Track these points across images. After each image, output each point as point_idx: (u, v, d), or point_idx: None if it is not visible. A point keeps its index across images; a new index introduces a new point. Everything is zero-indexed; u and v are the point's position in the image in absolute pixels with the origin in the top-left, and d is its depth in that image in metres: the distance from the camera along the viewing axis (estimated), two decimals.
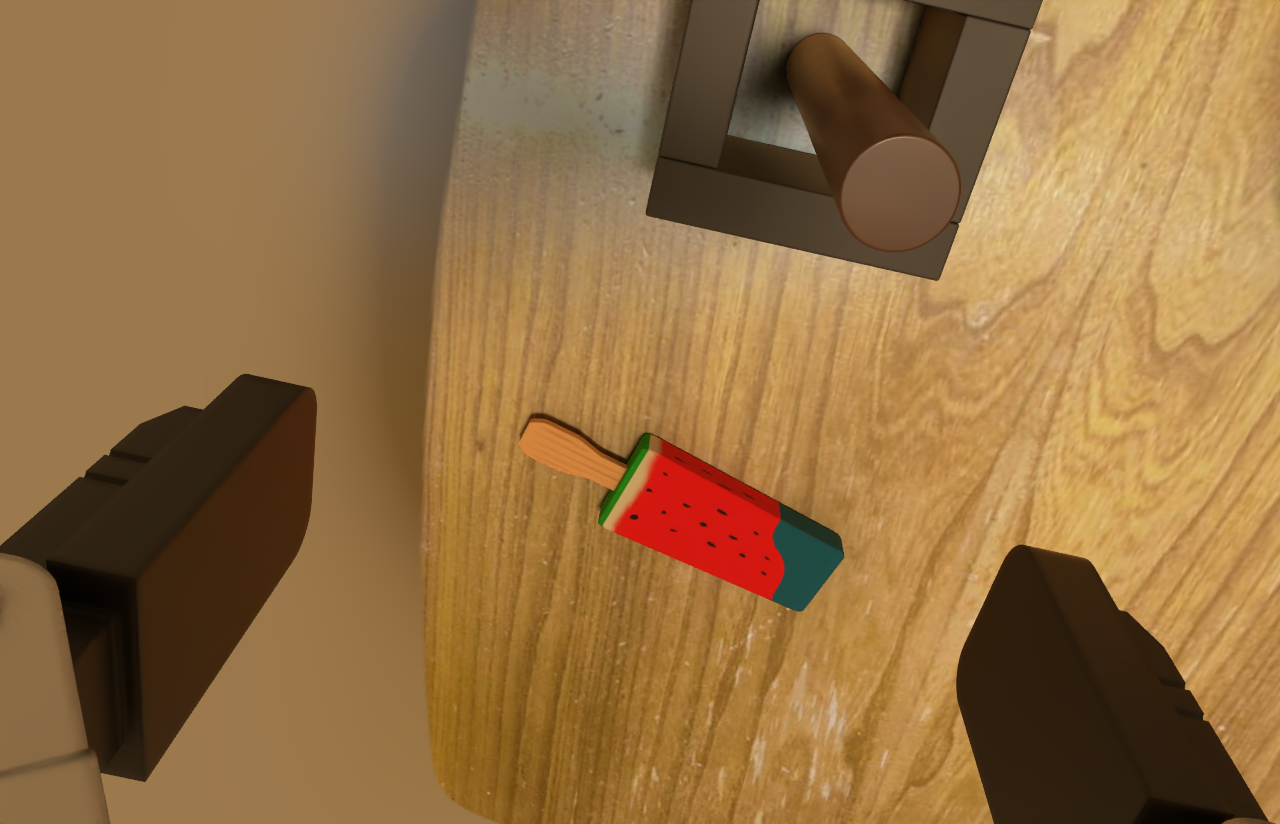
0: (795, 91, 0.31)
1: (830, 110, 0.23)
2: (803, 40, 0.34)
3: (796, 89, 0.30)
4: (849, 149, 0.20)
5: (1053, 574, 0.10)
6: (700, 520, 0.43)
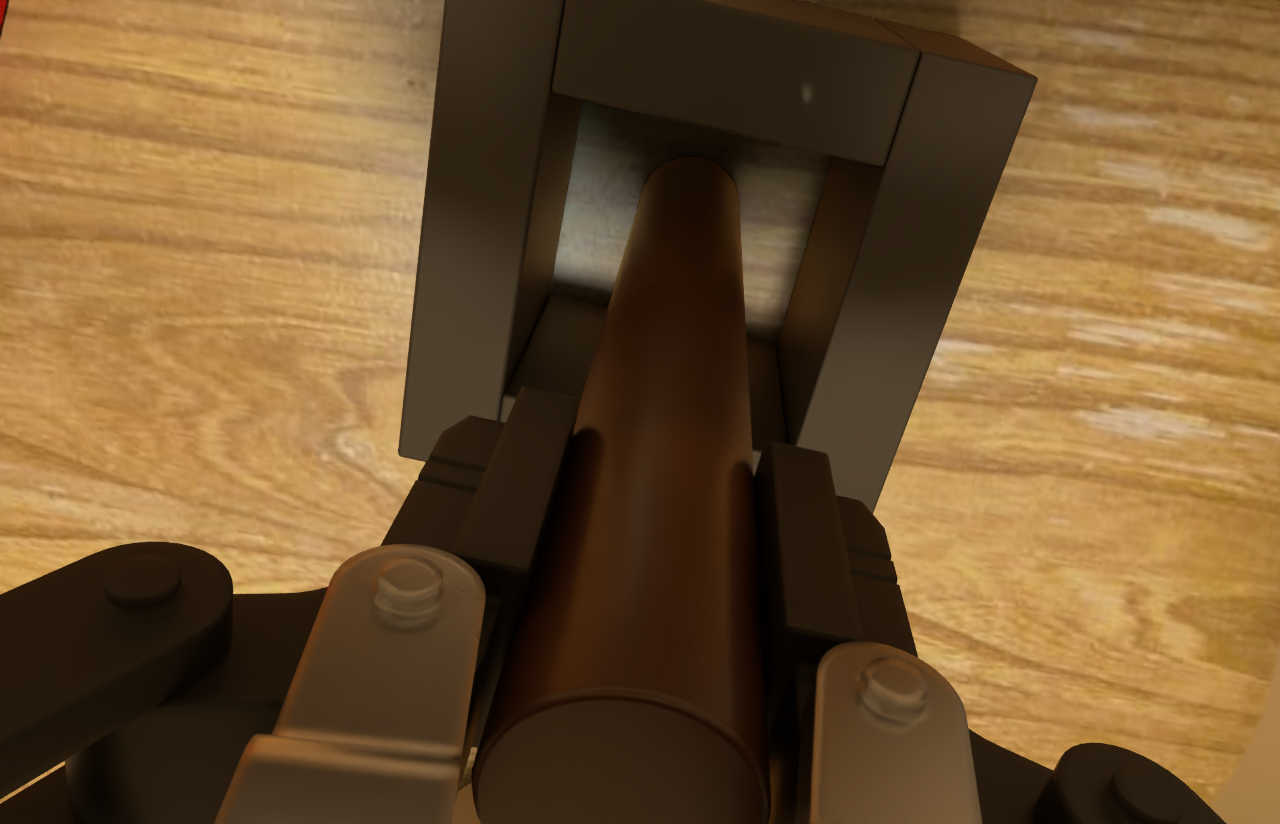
0: (680, 212, 0.19)
1: (720, 416, 0.12)
2: (731, 181, 0.23)
3: (686, 218, 0.18)
4: (713, 647, 0.08)
5: (784, 461, 0.11)
6: None
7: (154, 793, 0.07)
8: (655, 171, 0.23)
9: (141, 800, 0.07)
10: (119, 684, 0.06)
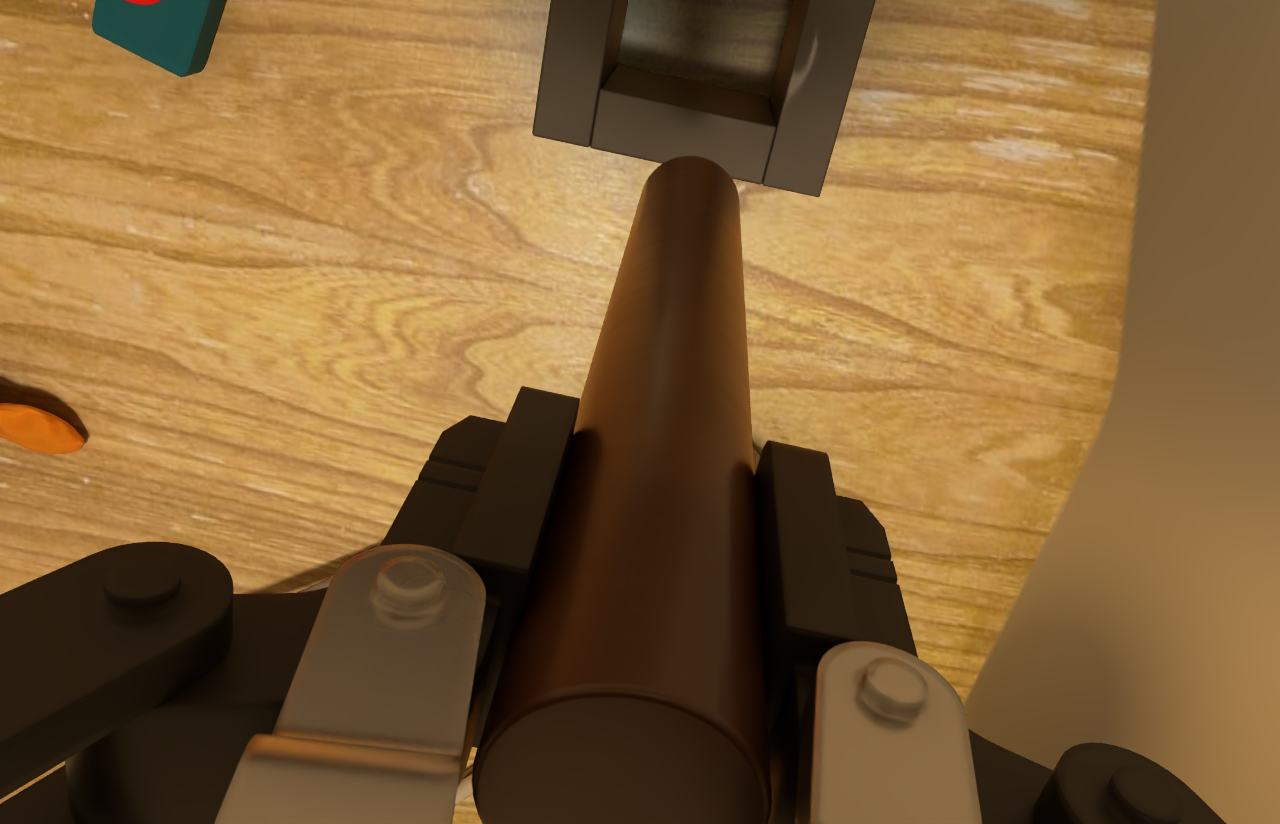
0: (680, 211, 0.19)
1: (720, 414, 0.12)
2: (731, 180, 0.23)
3: (686, 217, 0.18)
4: (713, 645, 0.08)
5: (784, 461, 0.11)
6: None
7: (154, 793, 0.07)
8: (655, 170, 0.23)
9: (141, 800, 0.07)
10: (120, 683, 0.06)
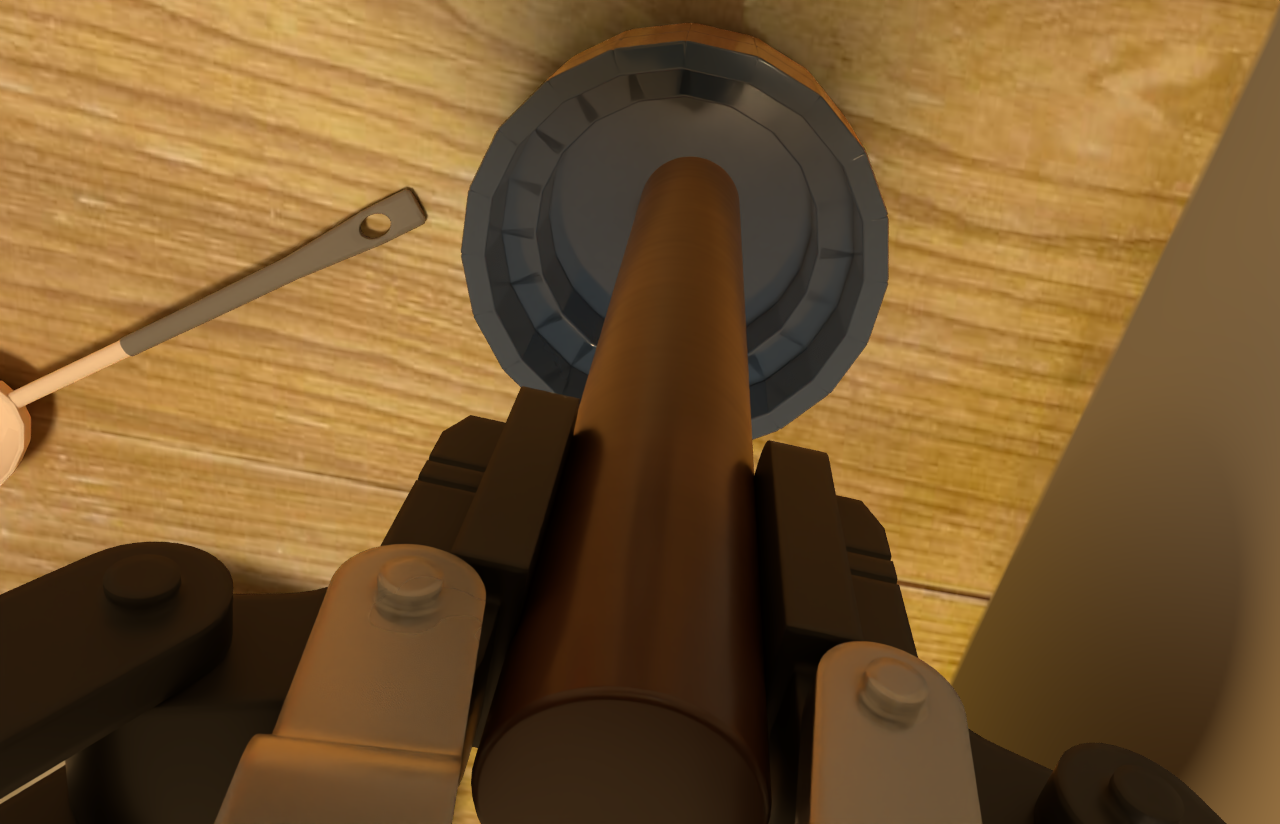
0: (680, 212, 0.19)
1: (720, 415, 0.12)
2: (731, 181, 0.23)
3: (686, 217, 0.18)
4: (713, 647, 0.08)
5: (784, 461, 0.11)
6: None
7: (154, 793, 0.07)
8: (655, 171, 0.23)
9: (141, 800, 0.07)
10: (120, 684, 0.06)
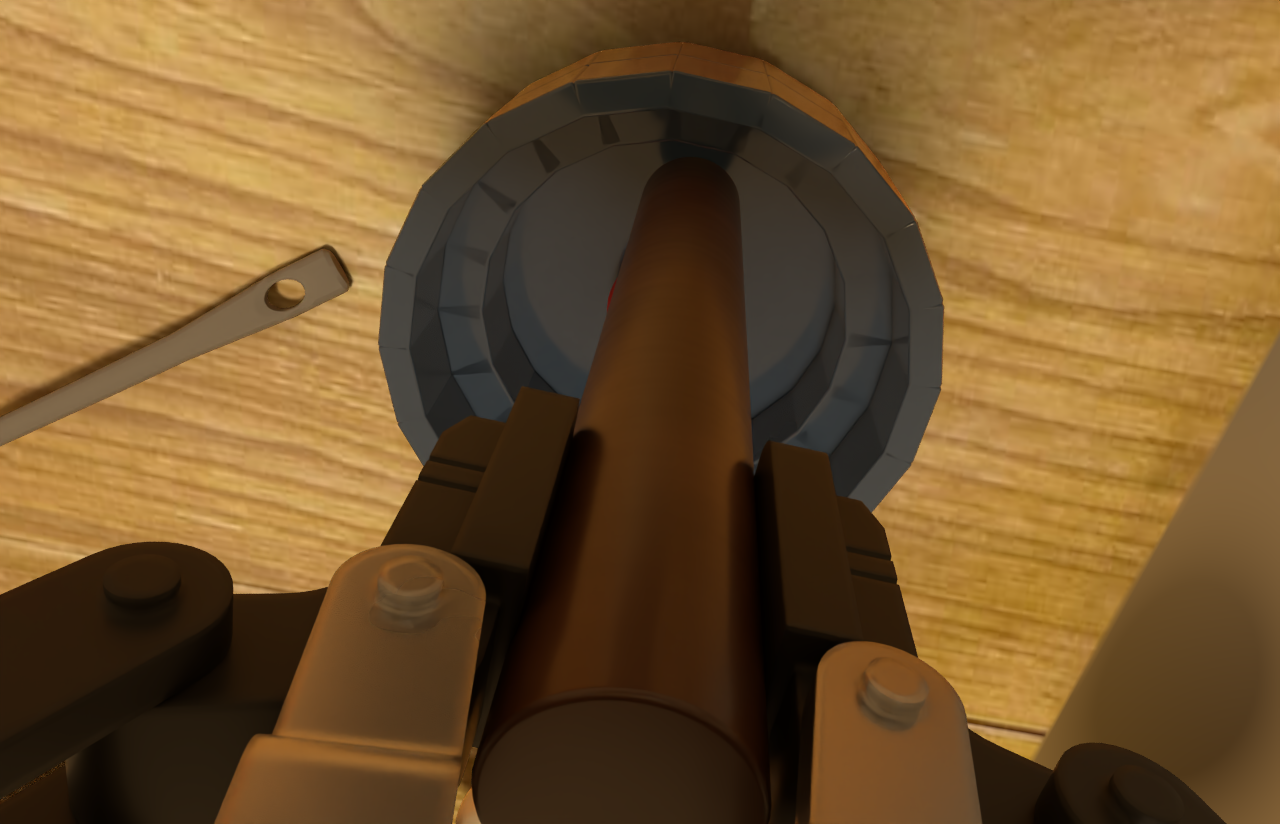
0: (681, 212, 0.19)
1: (720, 416, 0.12)
2: (732, 181, 0.23)
3: (686, 218, 0.18)
4: (713, 648, 0.08)
5: (784, 461, 0.11)
6: None
7: (154, 793, 0.07)
8: (656, 171, 0.23)
9: (141, 800, 0.07)
10: (120, 684, 0.06)
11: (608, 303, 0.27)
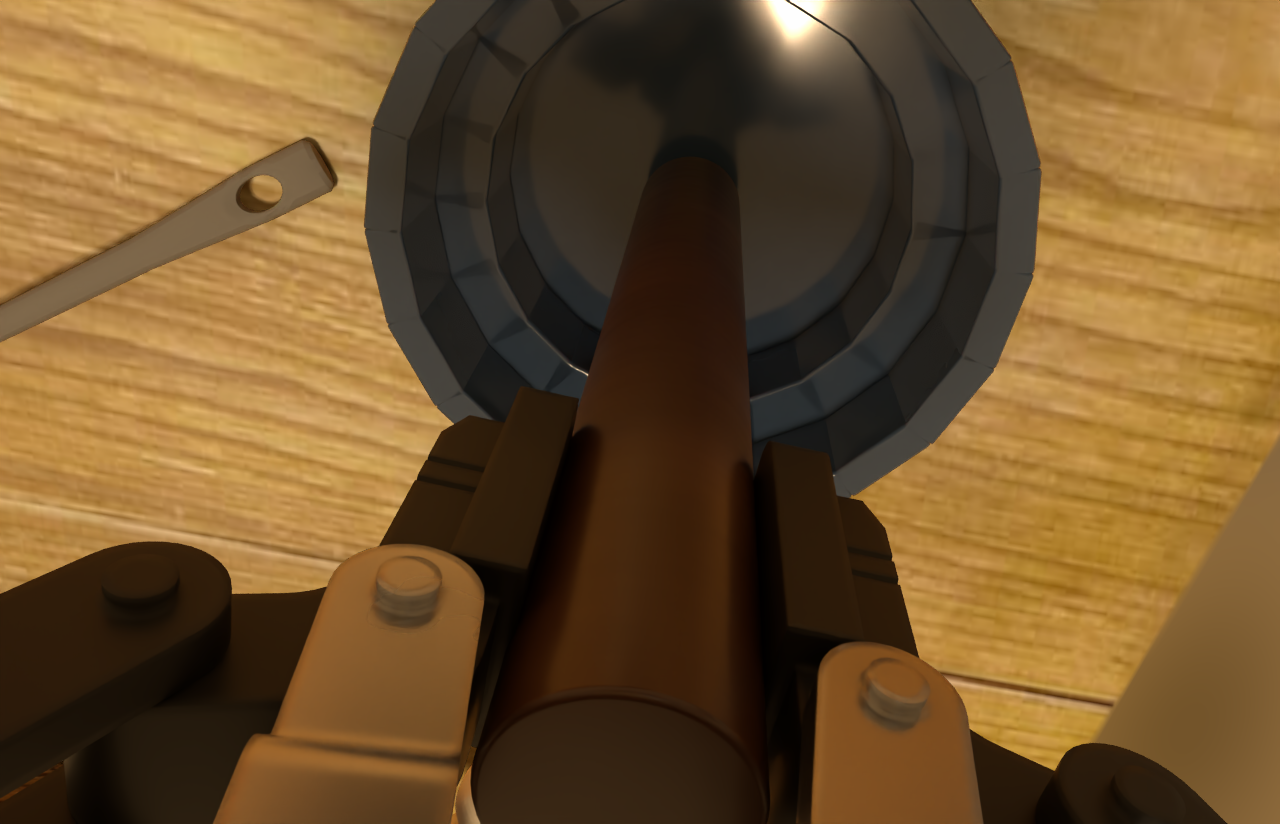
0: (680, 212, 0.19)
1: (719, 415, 0.12)
2: (731, 181, 0.23)
3: (686, 218, 0.18)
4: (712, 647, 0.08)
5: (784, 461, 0.11)
6: None
7: (153, 793, 0.07)
8: (655, 171, 0.23)
9: (140, 800, 0.07)
10: (118, 683, 0.06)
11: None
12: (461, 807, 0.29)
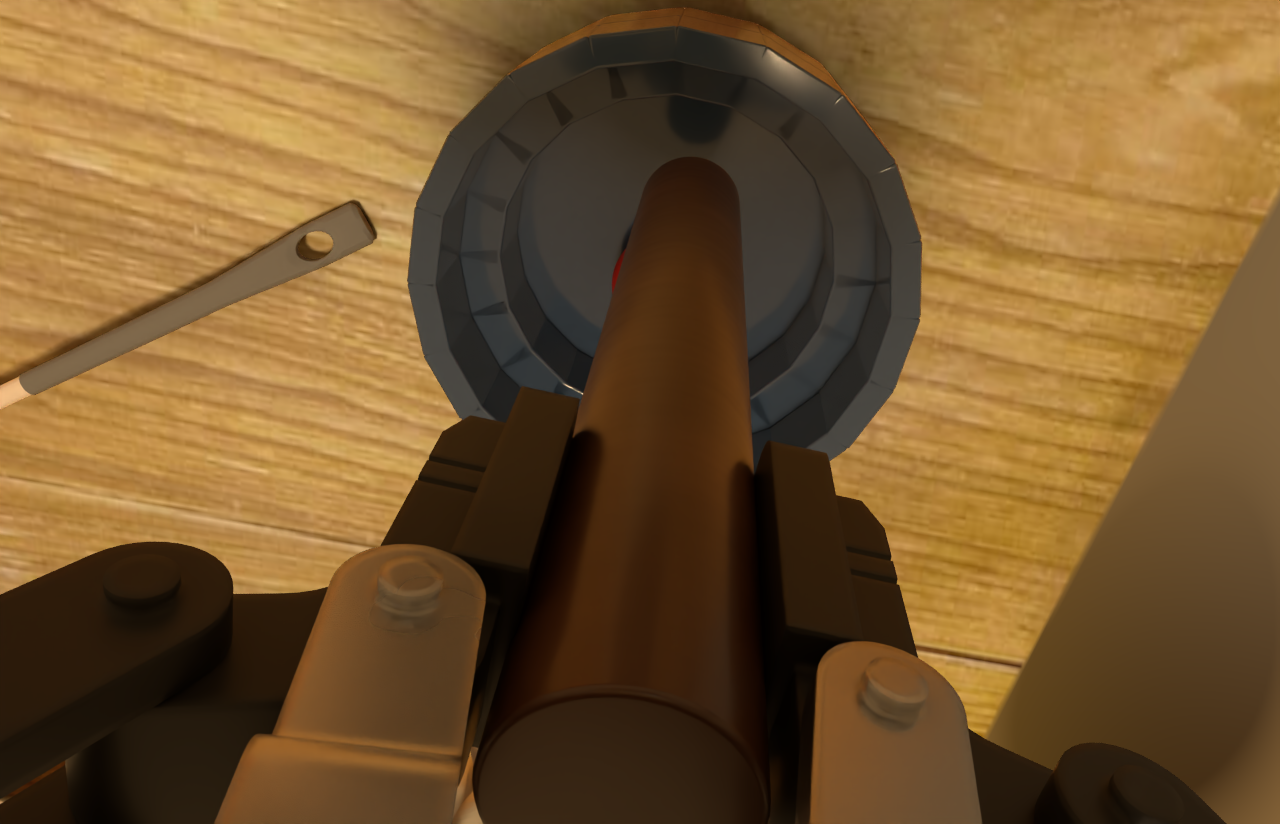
0: (681, 212, 0.19)
1: (720, 415, 0.12)
2: (731, 181, 0.23)
3: (686, 218, 0.18)
4: (713, 646, 0.08)
5: (785, 461, 0.11)
6: None
7: (154, 793, 0.07)
8: (656, 171, 0.23)
9: (141, 800, 0.07)
10: (120, 685, 0.06)
11: (612, 283, 0.29)
12: (475, 748, 0.35)
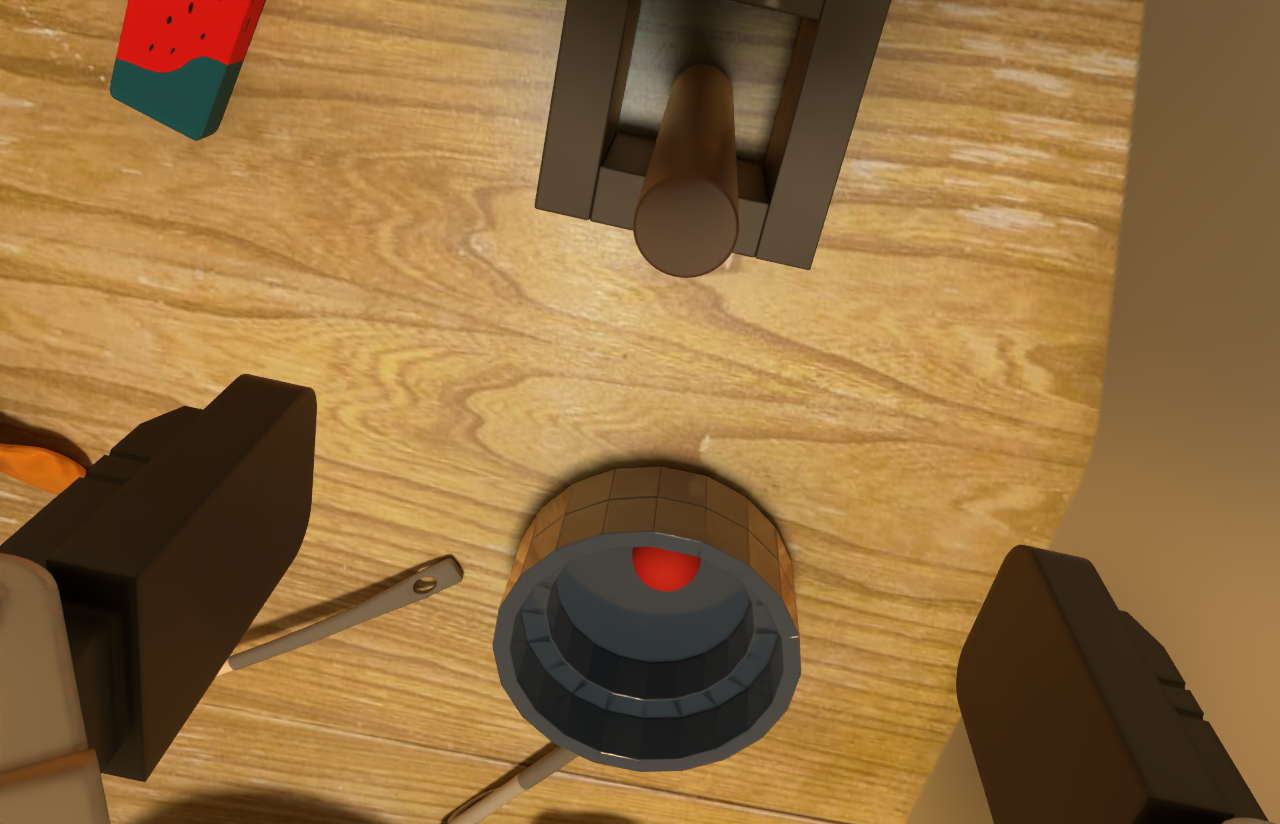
0: (698, 83, 0.33)
1: (721, 140, 0.26)
2: (728, 79, 0.37)
3: (701, 85, 0.33)
4: (719, 177, 0.22)
5: (1053, 573, 0.10)
6: None
7: None
8: (681, 73, 0.37)
9: None
10: None
11: None
12: None
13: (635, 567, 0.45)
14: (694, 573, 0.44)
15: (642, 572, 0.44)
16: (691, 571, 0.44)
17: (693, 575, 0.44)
